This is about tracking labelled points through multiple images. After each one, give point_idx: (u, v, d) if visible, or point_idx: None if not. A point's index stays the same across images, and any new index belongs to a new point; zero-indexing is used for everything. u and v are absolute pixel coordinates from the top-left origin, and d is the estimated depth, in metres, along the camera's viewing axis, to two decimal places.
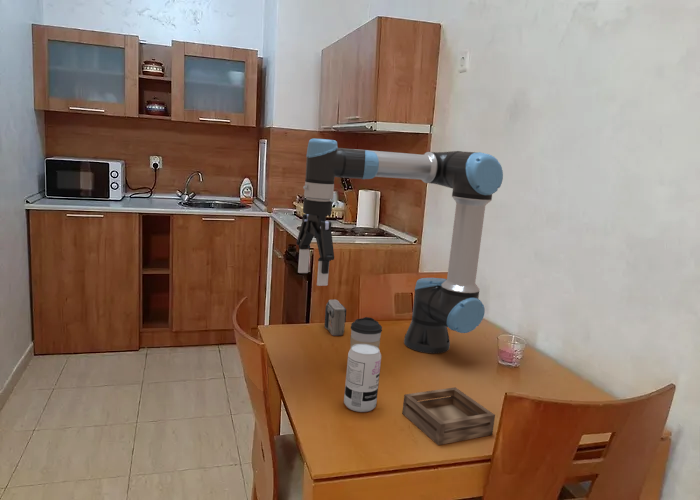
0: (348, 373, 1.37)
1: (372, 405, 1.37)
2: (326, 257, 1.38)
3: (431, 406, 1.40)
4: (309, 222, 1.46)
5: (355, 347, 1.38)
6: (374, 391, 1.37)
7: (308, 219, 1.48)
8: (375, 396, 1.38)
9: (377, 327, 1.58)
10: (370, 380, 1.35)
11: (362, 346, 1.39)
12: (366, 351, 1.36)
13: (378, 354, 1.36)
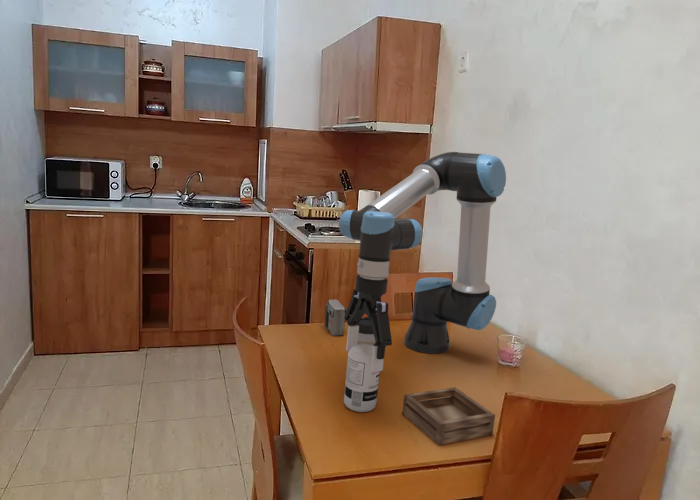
0: (348, 373, 1.37)
1: (372, 405, 1.37)
2: (383, 343, 1.27)
3: (431, 406, 1.40)
4: (362, 300, 1.35)
5: (355, 347, 1.38)
6: (374, 391, 1.37)
7: (360, 296, 1.37)
8: (375, 396, 1.38)
9: None
10: (370, 380, 1.35)
11: (362, 346, 1.39)
12: (366, 351, 1.36)
13: None
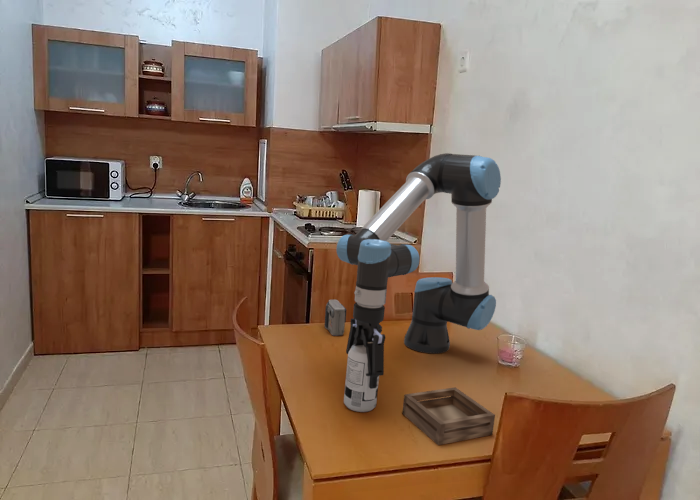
0: (348, 373, 1.37)
1: (372, 405, 1.37)
2: (375, 373, 1.31)
3: (431, 406, 1.40)
4: (359, 327, 1.36)
5: (355, 347, 1.38)
6: None
7: (358, 322, 1.39)
8: (375, 396, 1.38)
9: None
10: None
11: (362, 346, 1.39)
12: None
13: None
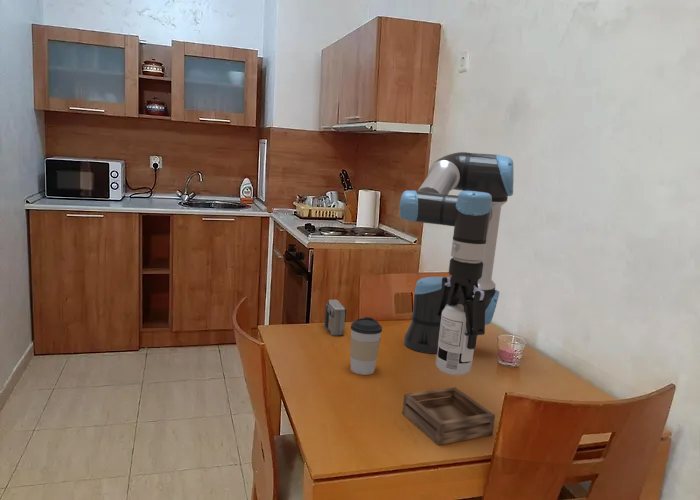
0: (443, 334, 1.29)
1: (468, 368, 1.29)
2: (477, 332, 1.23)
3: (431, 406, 1.40)
4: (455, 284, 1.28)
5: (449, 306, 1.30)
6: None
7: (452, 280, 1.30)
8: None
9: (377, 327, 1.58)
10: None
11: (456, 306, 1.31)
12: (462, 310, 1.28)
13: None
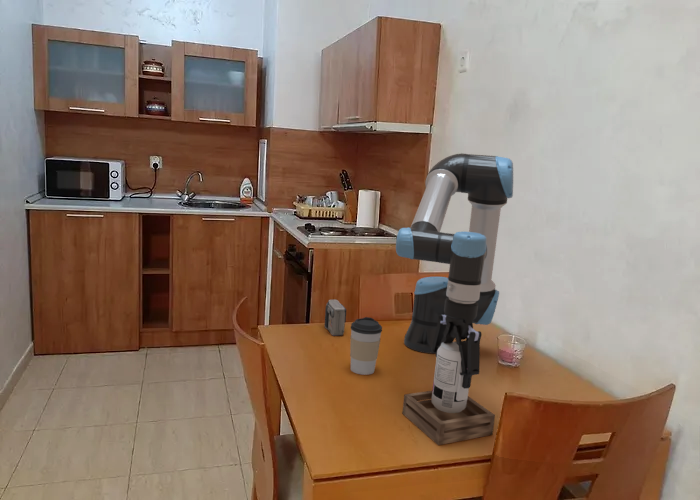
0: (438, 372, 1.30)
1: (463, 406, 1.31)
2: (471, 372, 1.24)
3: (431, 406, 1.40)
4: (450, 323, 1.30)
5: (444, 345, 1.32)
6: None
7: (447, 319, 1.32)
8: None
9: (377, 327, 1.58)
10: None
11: (451, 344, 1.33)
12: (457, 349, 1.30)
13: None
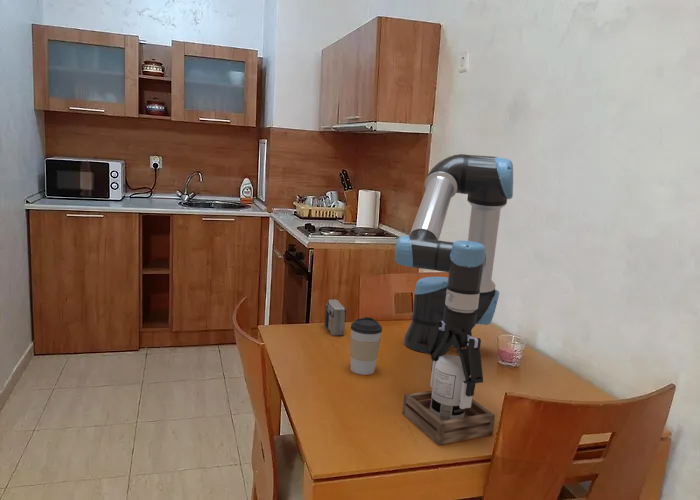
0: (436, 386, 1.31)
1: None
2: (475, 381, 1.23)
3: None
4: (449, 333, 1.30)
5: (442, 359, 1.33)
6: None
7: (446, 328, 1.32)
8: (464, 410, 1.32)
9: (377, 327, 1.58)
10: (460, 393, 1.30)
11: (449, 357, 1.34)
12: (455, 363, 1.31)
13: None
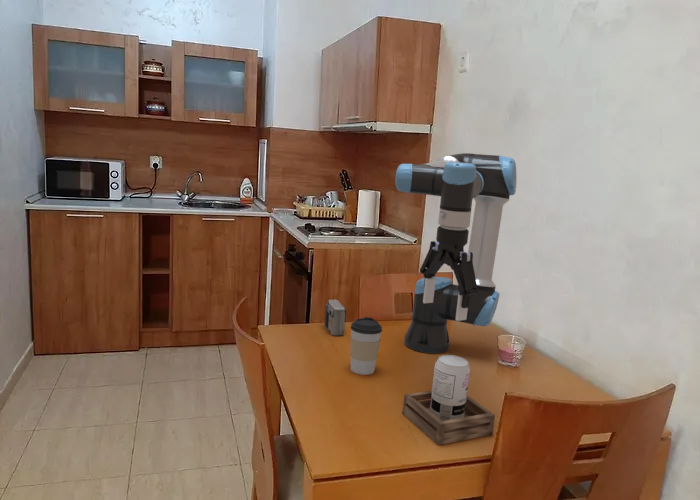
0: (436, 386, 1.31)
1: None
2: (470, 291, 1.29)
3: None
4: (443, 251, 1.36)
5: (442, 359, 1.33)
6: (463, 405, 1.31)
7: (439, 248, 1.38)
8: (463, 410, 1.32)
9: (377, 327, 1.58)
10: (460, 393, 1.30)
11: (449, 357, 1.34)
12: (455, 363, 1.31)
13: (468, 366, 1.31)
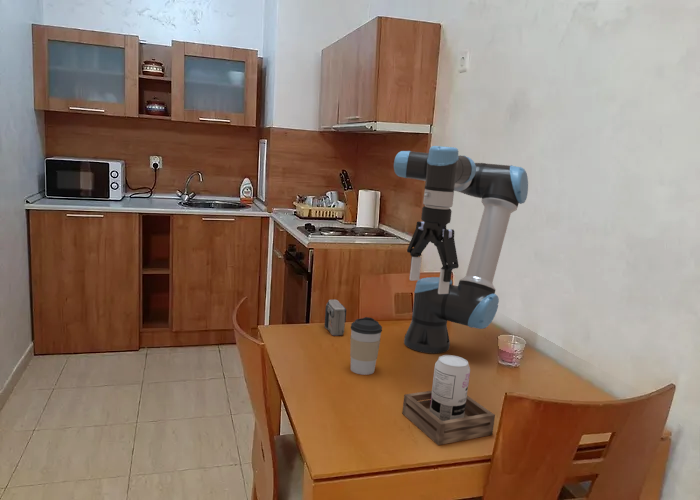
0: (436, 386, 1.31)
1: None
2: (451, 265, 1.38)
3: None
4: (427, 230, 1.45)
5: (442, 359, 1.33)
6: (463, 405, 1.31)
7: (424, 227, 1.48)
8: (463, 410, 1.32)
9: (377, 327, 1.58)
10: (460, 393, 1.30)
11: (449, 357, 1.34)
12: (455, 363, 1.31)
13: (468, 366, 1.31)
